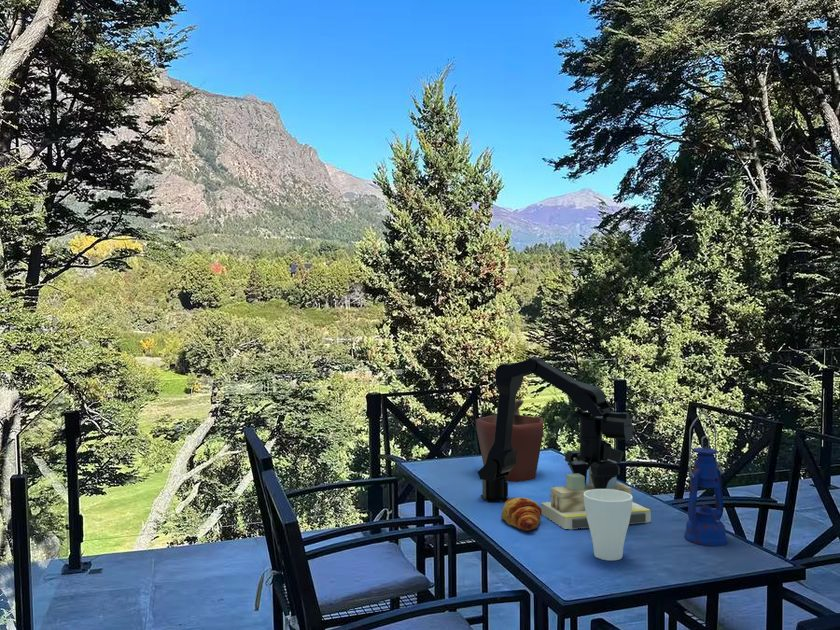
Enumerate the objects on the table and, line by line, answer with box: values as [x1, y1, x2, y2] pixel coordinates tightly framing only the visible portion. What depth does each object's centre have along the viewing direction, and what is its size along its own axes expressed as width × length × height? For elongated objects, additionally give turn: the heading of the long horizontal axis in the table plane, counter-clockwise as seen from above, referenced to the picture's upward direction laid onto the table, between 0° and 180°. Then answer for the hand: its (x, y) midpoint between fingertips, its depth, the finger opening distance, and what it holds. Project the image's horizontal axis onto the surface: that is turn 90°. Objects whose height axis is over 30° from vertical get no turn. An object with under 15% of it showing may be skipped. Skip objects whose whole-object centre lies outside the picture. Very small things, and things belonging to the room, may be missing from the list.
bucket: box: [475, 399, 544, 483], centre depth 224 cm, size 24×22×25 cm
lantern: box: [683, 411, 729, 547], centre depth 160 cm, size 11×9×30 cm
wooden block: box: [550, 481, 632, 513], centre depth 177 cm, size 20×6×5 cm, turn 104°
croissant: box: [501, 497, 542, 531], centre depth 175 cm, size 21×10×8 cm, turn 5°
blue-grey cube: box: [606, 476, 617, 488], centre depth 178 cm, size 4×4×4 cm
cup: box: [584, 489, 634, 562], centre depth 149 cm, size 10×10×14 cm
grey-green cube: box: [565, 473, 585, 491], centre depth 176 cm, size 4×4×4 cm
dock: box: [540, 501, 652, 530], centre depth 177 cm, size 24×15×3 cm, turn 104°
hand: (591, 495), depth 177 cm, fingers open, 9 cm apart
